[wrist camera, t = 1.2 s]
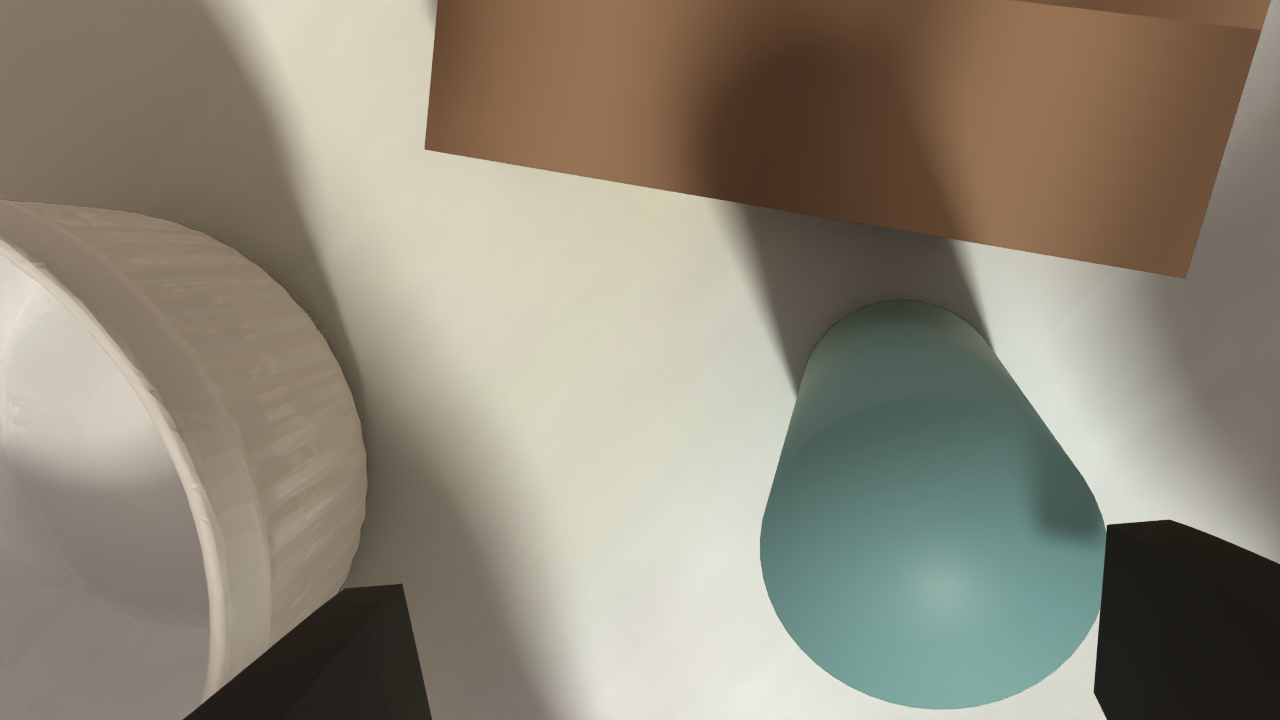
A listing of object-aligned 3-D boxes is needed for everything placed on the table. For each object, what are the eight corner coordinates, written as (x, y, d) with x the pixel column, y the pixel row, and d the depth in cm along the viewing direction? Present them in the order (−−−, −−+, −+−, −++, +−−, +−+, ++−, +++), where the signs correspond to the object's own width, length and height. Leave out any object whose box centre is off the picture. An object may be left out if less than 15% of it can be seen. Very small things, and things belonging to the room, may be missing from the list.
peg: (1026, 321, 17) (1152, 439, 10) (976, 508, 18) (1057, 747, 11) (822, 283, 18) (793, 366, 11) (784, 465, 19) (733, 660, 12)
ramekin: (503, 607, 22) (347, 799, 15) (112, 722, 26) (-148, 915, 19) (274, 88, 20) (-8, 50, 14) (-102, 294, 24) (-463, 341, 18)
